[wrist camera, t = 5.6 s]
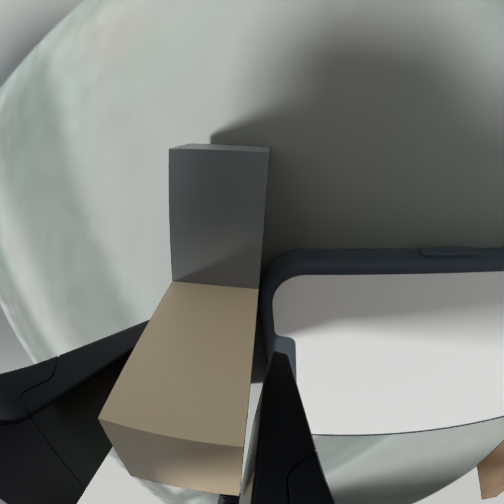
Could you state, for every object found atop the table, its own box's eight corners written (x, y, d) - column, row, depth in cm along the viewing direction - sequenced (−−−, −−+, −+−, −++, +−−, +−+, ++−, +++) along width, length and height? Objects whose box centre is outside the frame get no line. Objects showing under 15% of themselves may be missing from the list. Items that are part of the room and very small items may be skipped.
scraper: (250, 384, 13) (235, 528, 7) (196, 378, 13) (159, 515, 7) (269, 147, 9) (262, 202, 3) (189, 143, 9) (30, 195, 3)
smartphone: (598, 241, 6) (263, 241, 10) (616, 254, 5) (253, 260, 9) (544, 386, 10) (278, 411, 14) (553, 404, 8) (272, 436, 12)
